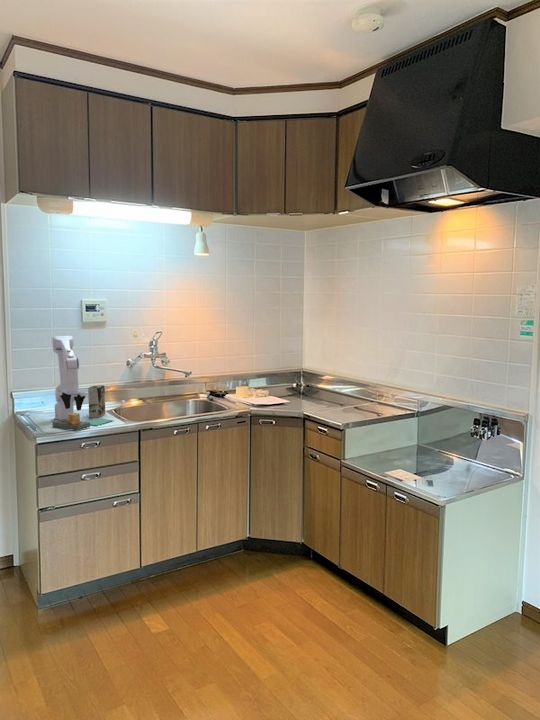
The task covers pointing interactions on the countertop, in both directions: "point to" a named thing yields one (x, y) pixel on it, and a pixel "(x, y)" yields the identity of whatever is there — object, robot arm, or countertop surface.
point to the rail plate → (70, 425)
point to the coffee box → (96, 401)
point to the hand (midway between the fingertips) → (73, 409)
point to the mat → (98, 421)
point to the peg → (73, 418)
